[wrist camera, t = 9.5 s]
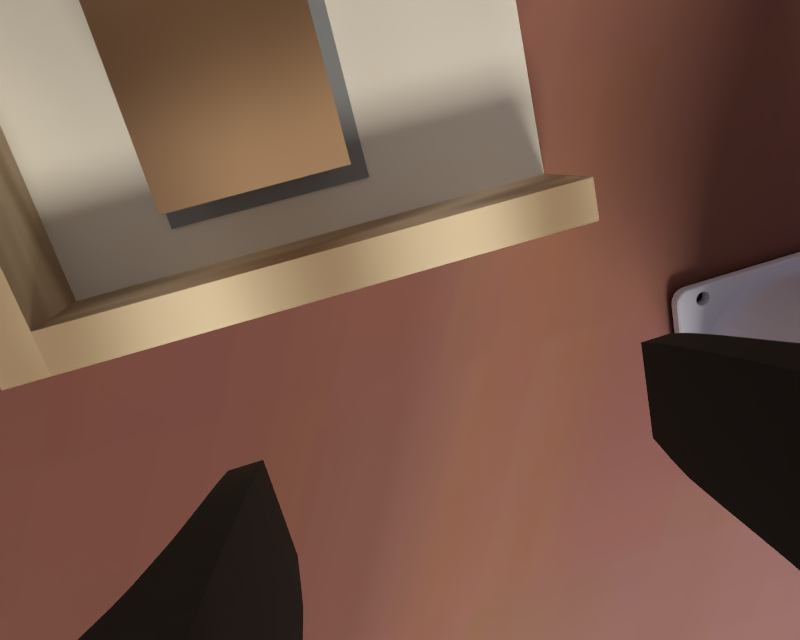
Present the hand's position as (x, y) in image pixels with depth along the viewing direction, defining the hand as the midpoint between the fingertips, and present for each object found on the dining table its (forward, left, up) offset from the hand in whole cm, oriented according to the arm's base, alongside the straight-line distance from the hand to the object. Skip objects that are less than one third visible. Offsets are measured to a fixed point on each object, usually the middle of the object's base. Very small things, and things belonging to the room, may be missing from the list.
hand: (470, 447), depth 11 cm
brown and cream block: (+2, -8, -9) cm, 12 cm away
